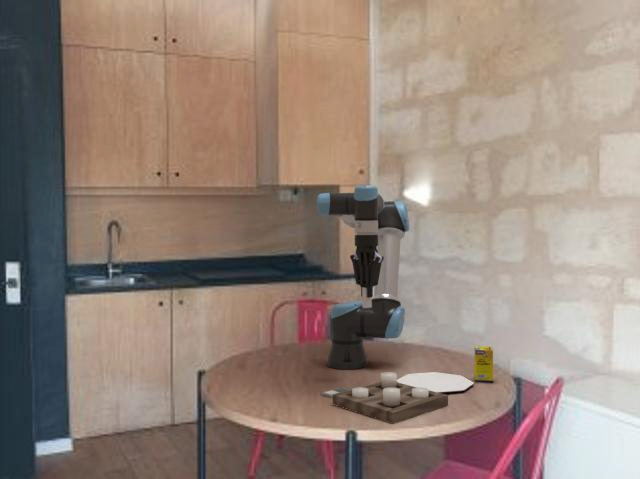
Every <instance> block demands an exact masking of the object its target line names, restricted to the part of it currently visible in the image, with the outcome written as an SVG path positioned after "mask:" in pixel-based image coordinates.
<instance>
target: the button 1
mask: <svg viewBox="0 0 640 479" xmlns="http://www.w3.org/2000/svg"><path fill="white" fill-rule="evenodd" d="M351 390H352V397H354V398H357V399H363V398H367V397H368V389H367V388H364V386H359V387H353V388H352V389H351Z"/></svg>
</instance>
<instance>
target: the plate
mask: <svg viewBox="0 0 640 479" xmlns="http://www.w3.org/2000/svg"><path fill="white" fill-rule="evenodd" d="M397 383H401V384H405V385H409V386H413V387H422V388H427V389H428V390H429V391H433V392H437V393H441V394H447V393H457V392H459V393H461V392H465V391H466V390H467V389H469V388H470V387H472V386H474V382H473V381H472V380H470V379H468V378H466V377H465V376H463V375H459V374H453V373H443V372H435V371H431V372H417V373H407V374H405V375H404V376H401V377H400V378H398V379H397Z"/></svg>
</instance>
